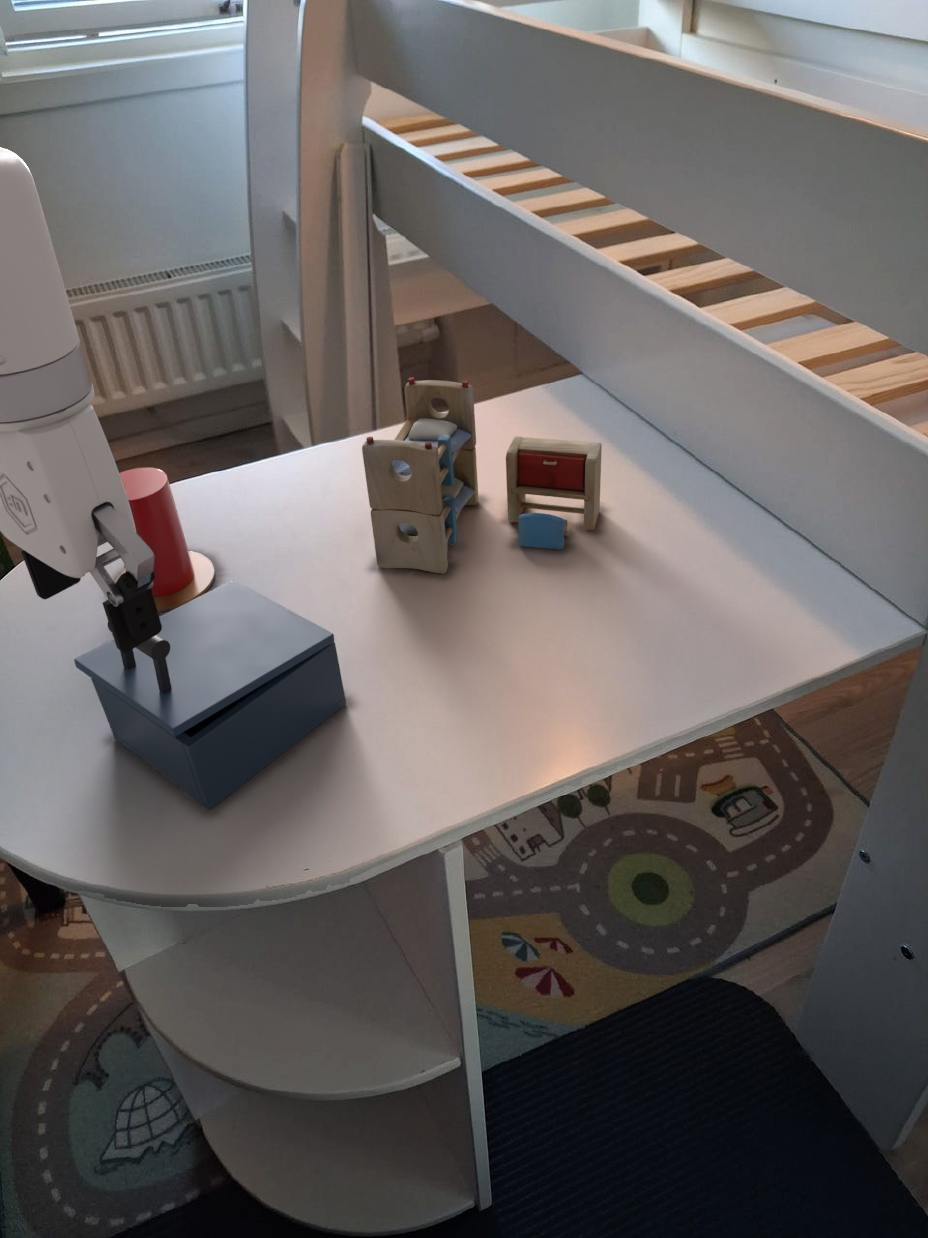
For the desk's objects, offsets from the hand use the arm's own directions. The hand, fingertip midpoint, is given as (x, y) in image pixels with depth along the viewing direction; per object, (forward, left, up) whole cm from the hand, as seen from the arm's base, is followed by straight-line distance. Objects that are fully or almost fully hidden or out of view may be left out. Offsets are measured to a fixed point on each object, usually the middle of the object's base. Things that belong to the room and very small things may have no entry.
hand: (99, 614), depth 68 cm
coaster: (+8, +26, -16) cm, 31 cm away
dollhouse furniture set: (+39, +14, -16) cm, 44 cm away
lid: (+7, +2, -9) cm, 11 cm away
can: (+8, +26, -16) cm, 31 cm away
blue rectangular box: (+7, +3, -16) cm, 18 cm away
